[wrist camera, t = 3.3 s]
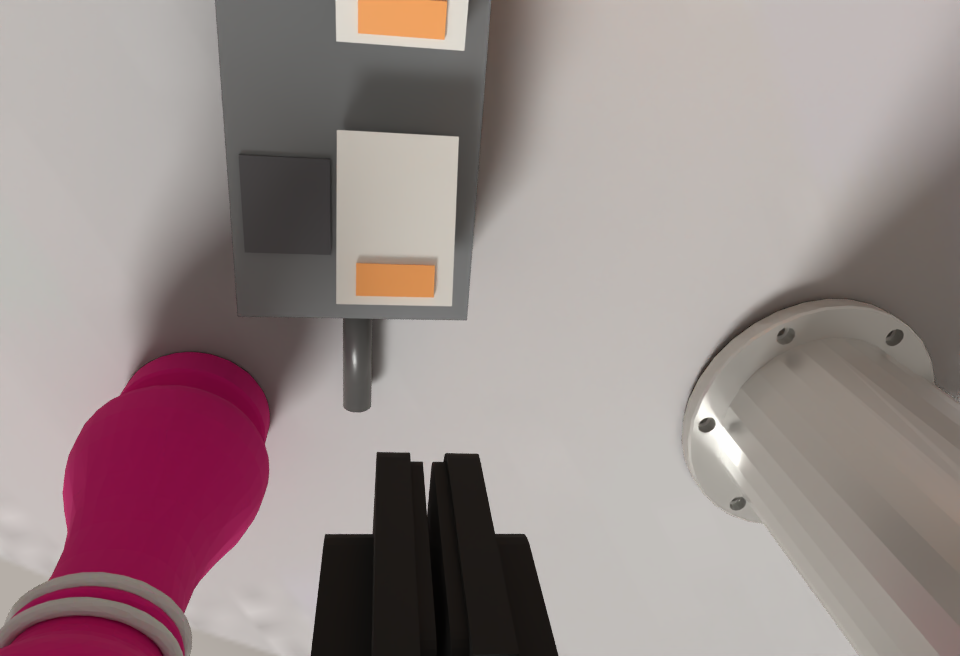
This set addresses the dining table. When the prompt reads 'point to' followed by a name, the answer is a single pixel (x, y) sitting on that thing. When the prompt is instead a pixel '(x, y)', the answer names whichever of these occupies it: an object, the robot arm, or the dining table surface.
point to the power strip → (332, 154)
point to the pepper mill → (149, 511)
